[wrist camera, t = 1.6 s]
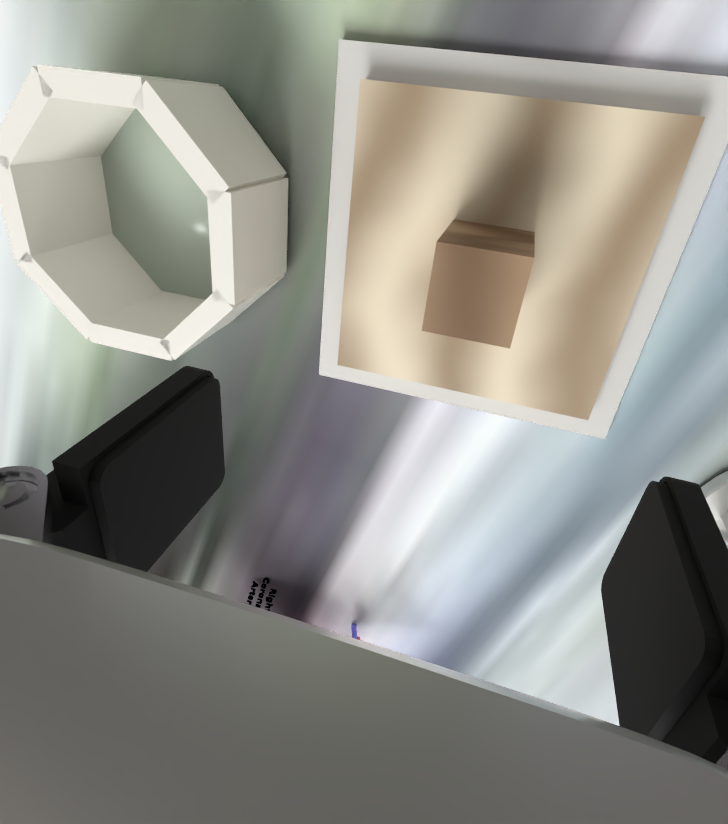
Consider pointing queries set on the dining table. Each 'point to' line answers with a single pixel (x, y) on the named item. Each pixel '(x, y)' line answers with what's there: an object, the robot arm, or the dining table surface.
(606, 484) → the dining table surface
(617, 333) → the birch lid
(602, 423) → the grey mat
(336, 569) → the dining table surface
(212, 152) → the ceramic bowl
